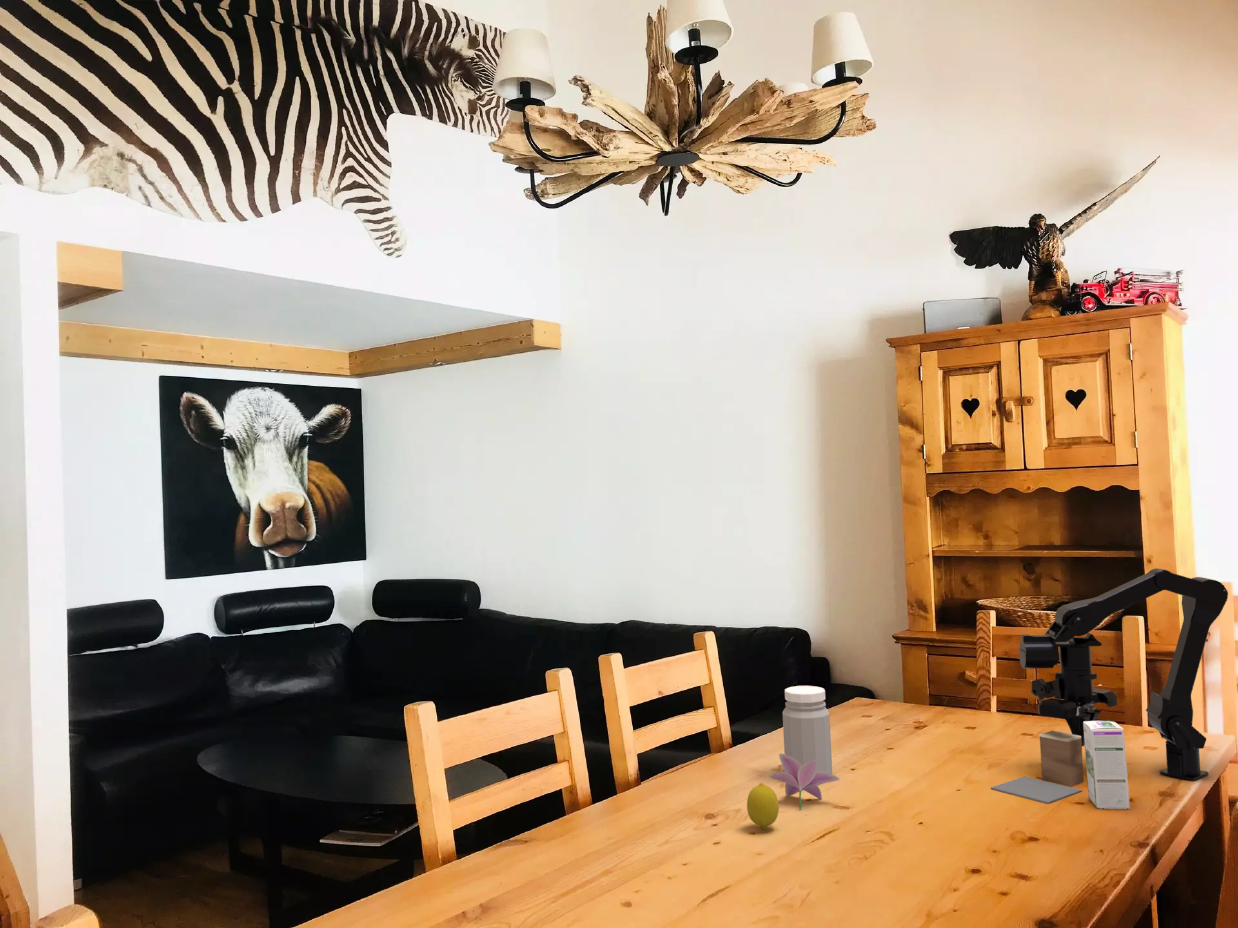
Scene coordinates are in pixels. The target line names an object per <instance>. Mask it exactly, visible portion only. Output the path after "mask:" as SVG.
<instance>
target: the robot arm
mask: <svg viewBox="0 0 1238 928" xmlns="http://www.w3.org/2000/svg"><path fill="white" fill-rule="evenodd" d="M1163 591H1168V592H1171V593H1174V594H1177V595H1180V596H1181V609H1182V616H1183V621H1182V625H1181V628H1180V632H1179V635H1178V639H1177V643H1176V647H1175V650H1174V653H1173V658H1172V661H1171V665H1170V668H1169V672H1168V676H1167V679H1166V684H1165V686H1164V687H1163V689H1162V690H1161V691H1160V693H1159V694H1157V693H1156V692H1151V694H1150V697H1149V698H1150V699H1149V704H1148V706H1147V708H1146V710H1145V711H1146V712H1147V713H1148V714H1147V715H1148V722H1149V723H1150V725H1151V727H1153V728H1154V729H1155V730H1156V731H1158V733H1159V735H1160V738H1162V739H1164V740H1165V751H1166V752H1165V753H1166V754H1165V755H1166V756H1165V758H1166V768H1164V769H1161V770H1159V774H1160V775H1164V776H1169V777H1174V778H1179V779H1184V780H1187V781H1188V780H1189V781H1195V780H1198V779H1201V778H1203V777H1207V776H1208V775H1209V772H1208V771H1207V770H1206V771H1205V770H1201V761H1200V760H1201V759H1200V758H1201V757H1200V749H1204V748H1205V745H1206V742H1207V738H1206V736H1204V735H1203V734H1202V733H1201V732H1200V731H1198V730H1197V729H1196V728H1195V727H1194V726H1193V721H1194V720H1193V719H1194V709H1193V708H1194V707H1193V701H1192V700H1193V699H1192V692H1193V689H1194V685H1195V681H1196V678H1197V675H1198V672H1199V671H1198V670H1199V668H1200V664H1201V660H1202V657H1203V653H1204V649H1205V645H1206V642H1207V638H1208V634H1209V631H1210V628H1211V626H1212V625H1213V624H1214V622H1215V621H1216V620H1217V619H1218V617H1220V615H1221V614H1222V611H1223V610H1224V607H1225V605H1226V603H1227V601H1228V598H1229V592H1228V591H1229V590H1228V589H1227V588H1226V586H1225V585H1224V584H1223V583H1222V582H1221V581H1218V580H1216V579H1212V578H1207V577H1203V576H1195V577H1192V578H1191V577H1187V576H1184V575H1180V574H1176V573H1174V572H1171V571H1169V570H1167V569H1163V568H1157V567H1156V568H1153V569H1151V570H1149V571H1148V572H1147V573H1144V574H1143V575H1140V576H1138V577H1135V578H1134V579H1132V580H1130V581H1128V582H1126V583H1123V584H1121V585H1119V586H1117V587H1115V588H1112V589H1110V590H1109V591H1107V592H1104V593H1103V594H1100V595H1098V596H1095V597H1093V598H1088V599H1081V600H1077V601H1074V602H1070V603H1067V604H1063V605H1061V606H1060V607H1058V608H1057V610H1056V611H1055V614H1054V621H1053V622H1052V623H1051V625H1050V626H1049V627H1048V629H1047V630H1046V632H1045V633H1044V634H1042V635H1041V634H1039V635H1036V634H1033V635H1032V634H1025V633H1024V634H1021V635H1020V643H1019V648H1018V656H1019V661H1020V666H1021V668H1022V669H1029V670H1031V669H1035V670H1036V669H1053V668H1054V667H1055V666H1057V665H1058V664H1059V666H1060V671H1058V672H1056V674H1055V675H1054V680H1050V681H1046V680H1044V679H1045V678H1038V679H1035V680H1031V691H1030V692H1031V694H1032V695H1034V696H1035V697H1037V698H1038V701H1040V702H1039V703H1038V704H1037V710H1038V711H1037V712H1038V715H1039V716H1043V717H1044V716H1046V717H1049V718H1050V717H1051V718H1055V719H1056V718H1058V719H1062V720H1065V721H1066V723H1067V725H1068V727H1069V730H1070V732H1071V734H1073V735H1079V736H1081V742H1082V747H1085V741H1084V725H1083V722H1086V721H1098V718H1099V716H1100V715H1101V714H1102V710H1099V709H1096V706H1094V705H1096V704H1099V703H1100V704H1105V706H1106V707H1108V708H1112V707H1115V706H1118V700H1117V699H1118V697H1117V694H1115V693H1114V692H1113V691H1112V690H1108V689H1100V688H1094V687H1093V686H1094V683H1093V680H1097V679H1098V675H1097V674H1098V673H1095V672H1093V668H1092V666H1093V665H1092V651H1091V648H1092V647H1102V645H1103V644H1102V642H1101V641H1099V639H1097V638H1096V637H1095V636H1094V634H1093V633H1090V632H1092V631H1093V630H1094V629H1096V628H1097V627H1099V626H1100V625H1101V624H1102V623H1103V622H1104V621H1105V620H1106V619H1107V618H1108V617H1110V616H1112V615H1113V614H1115V613H1119V611H1122V610H1124V609H1127V608H1128V607H1130V606H1132V605H1135V604H1137V603H1139V602H1141V601H1143V600H1145V599H1148V598H1150V597H1151V596H1153V595H1156V594H1158V593H1161V592H1163ZM1059 662H1060V663H1059Z"/></svg>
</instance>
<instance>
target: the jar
mask: <svg viewBox="0 0 1238 928" xmlns="http://www.w3.org/2000/svg"><path fill="white" fill-rule="evenodd" d="M784 699H785V700H786V702H784V704H785V707H784V709H783V711H782V726H783V727H782V729H783V731H782V733H783V747H784V749H783V750H784V753H783V754H785V755H787V756H790V757H792V758H794V759H795V760H797V761H798V762H799V763H800V764H801V765H804V764H805V763H807V762H810V761H813V760H816V761H817V771H823V772H826V773H829V774H832V775H833V760H832V759H833V758H832V757H833V756H832V737H831V721H830V720H831V719H830V717H831V715H830V712H829V710H828V709H827V707H826V706H827V704H826V701H825V700H826V690H825V688H823V687H820V686H814V685H796V686H790V687H787V688H785V689H784Z"/></svg>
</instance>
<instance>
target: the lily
mask: <svg viewBox="0 0 1238 928" xmlns="http://www.w3.org/2000/svg"><path fill="white" fill-rule="evenodd" d="M779 759H780V763H781V767H782V769H783V771H781V772H776V773H773V774H770V775H768V778H769V779H772V780H777V781H780V782H783V783H784V784H785V787H784V788H785V789H784V791H785V796H787V797H790V796H793V795H796V794H797V793H799V794H798V795H799V796H798V797H799V799H798V801H799V802H798V803H799V805H798V806H799V811H802V791H804V792H806V793H808V794H809V795H811V796H814V797H815V798H817V799H819V800H822V799H823V796H822V792H821V789H820V787H819V786H820V785H824V784H827V783H831V782H835V781H839V780H840V777H838V776H836V775H834V774H833V773H832V774H829V773H826V772H823V771H817V761H816V760H813V761H810V762H807V763H805V764H804V765H801V764H800V763H799V762H798V761H797V760H795V759H794V758H792V757H790V756H787V755H785V753H779Z"/></svg>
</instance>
